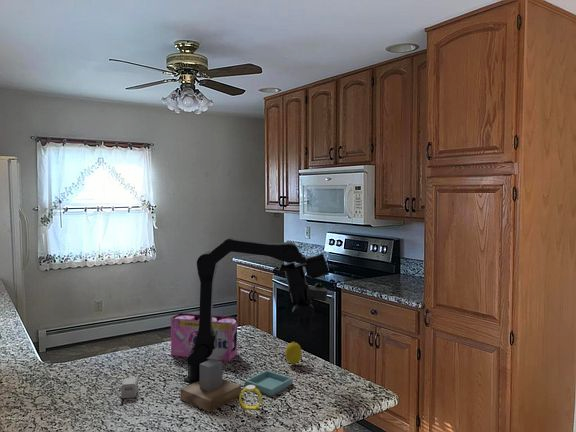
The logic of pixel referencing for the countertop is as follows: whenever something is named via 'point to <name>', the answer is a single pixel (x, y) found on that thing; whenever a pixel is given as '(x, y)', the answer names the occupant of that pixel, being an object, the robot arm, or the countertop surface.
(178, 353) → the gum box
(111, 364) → the countertop surface
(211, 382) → the plug block
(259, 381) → the teal tray
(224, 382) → the walnut dock
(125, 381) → the usb wall charger
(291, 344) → the lemon
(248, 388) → the watch
